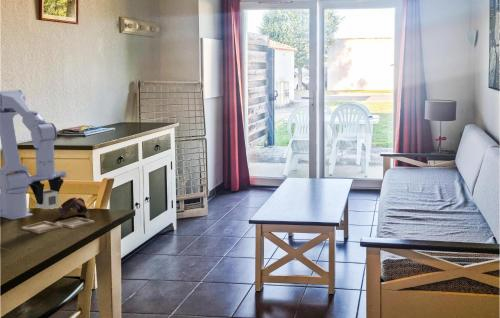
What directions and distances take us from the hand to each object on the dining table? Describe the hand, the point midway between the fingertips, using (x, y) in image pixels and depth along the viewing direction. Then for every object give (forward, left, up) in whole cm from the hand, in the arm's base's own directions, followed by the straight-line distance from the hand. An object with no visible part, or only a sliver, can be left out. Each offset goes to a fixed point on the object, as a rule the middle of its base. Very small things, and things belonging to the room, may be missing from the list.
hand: (47, 202), depth 204 cm
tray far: (+3, +8, -9) cm, 12 cm away
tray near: (-1, -2, -9) cm, 9 cm away
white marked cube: (0, 0, -2) cm, 2 cm away
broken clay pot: (-4, +15, -9) cm, 18 cm away
